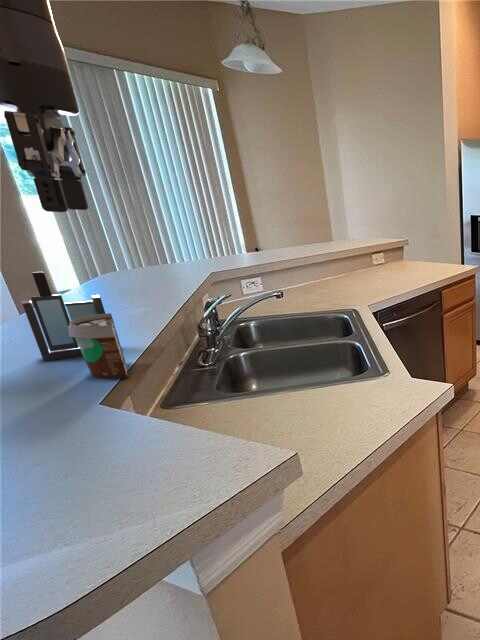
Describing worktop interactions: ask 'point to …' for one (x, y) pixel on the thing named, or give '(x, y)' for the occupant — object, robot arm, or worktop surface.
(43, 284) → the sash
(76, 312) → the window frame
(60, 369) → the worktop surface
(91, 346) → the food container
